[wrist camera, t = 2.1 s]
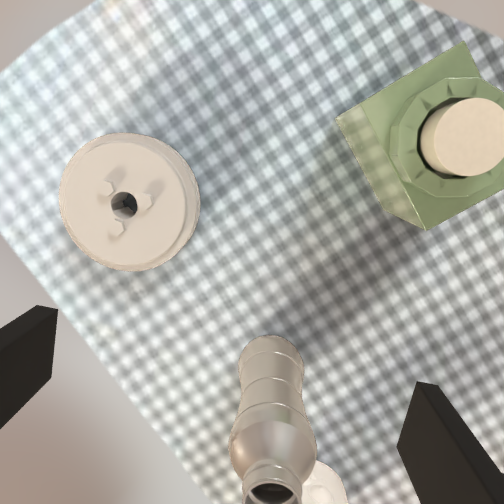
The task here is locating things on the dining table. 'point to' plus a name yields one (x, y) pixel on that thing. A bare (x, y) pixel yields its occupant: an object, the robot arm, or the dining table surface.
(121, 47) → the dining table surface
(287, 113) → the dining table surface
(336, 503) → the mug
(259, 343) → the plastic bottle
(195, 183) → the lid
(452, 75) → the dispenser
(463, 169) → the beige short cylinder
